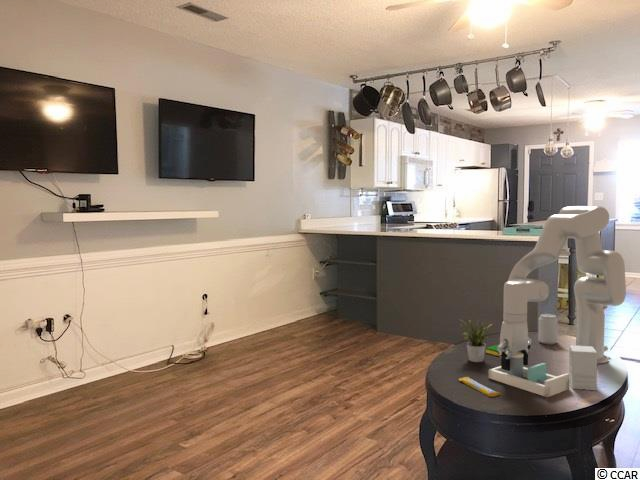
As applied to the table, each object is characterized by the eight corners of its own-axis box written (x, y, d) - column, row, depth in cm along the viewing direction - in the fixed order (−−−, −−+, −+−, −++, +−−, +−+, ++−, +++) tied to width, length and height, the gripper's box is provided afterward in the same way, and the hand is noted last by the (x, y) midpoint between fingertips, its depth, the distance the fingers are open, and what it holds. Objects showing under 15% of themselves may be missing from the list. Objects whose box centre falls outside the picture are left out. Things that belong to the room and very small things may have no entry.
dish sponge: (521, 351, 210) (521, 345, 210) (500, 357, 203) (500, 351, 202) (506, 347, 216) (506, 341, 216) (485, 353, 208) (485, 347, 208)
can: (540, 344, 218) (541, 316, 217) (536, 339, 226) (536, 312, 225) (559, 345, 217) (560, 317, 216) (554, 340, 224) (555, 313, 224)
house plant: (446, 360, 199) (446, 318, 198) (463, 352, 209) (464, 312, 208) (481, 368, 189) (482, 324, 188) (497, 359, 199) (498, 317, 198)
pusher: (542, 382, 172) (543, 362, 172) (557, 387, 168) (557, 366, 167) (527, 387, 168) (527, 367, 167) (542, 392, 163) (542, 371, 163)
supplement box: (592, 383, 171) (593, 346, 170) (596, 391, 164) (597, 352, 163) (568, 381, 174) (569, 344, 173) (571, 388, 167) (572, 350, 166)
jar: (512, 375, 180) (513, 350, 180) (526, 379, 176) (526, 353, 175) (503, 378, 177) (503, 353, 177) (516, 383, 173) (517, 356, 172)
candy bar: (501, 397, 162) (501, 391, 162) (490, 399, 160) (490, 393, 160) (468, 380, 177) (468, 375, 177) (458, 382, 176) (458, 376, 176)
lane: (510, 371, 185) (510, 357, 184) (569, 389, 167) (569, 373, 166) (488, 378, 178) (488, 363, 178) (547, 397, 160) (547, 381, 160)
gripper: (521, 312, 183) (520, 359, 184) (489, 319, 173) (489, 369, 175) (540, 316, 177) (539, 365, 178) (508, 323, 167) (508, 375, 168)
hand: (514, 367), depth 176 cm, fingers open, 9 cm apart
